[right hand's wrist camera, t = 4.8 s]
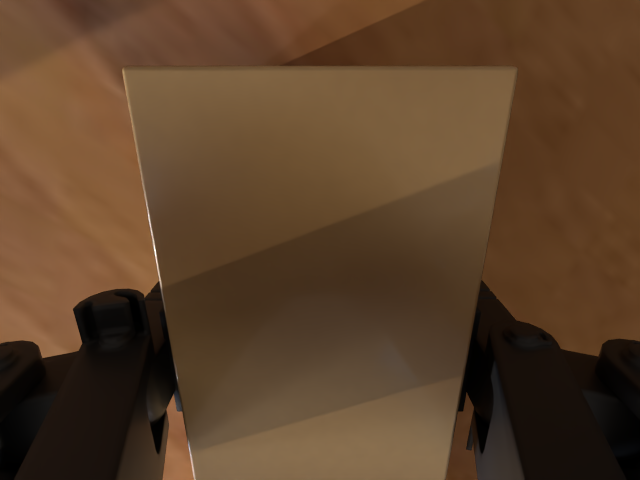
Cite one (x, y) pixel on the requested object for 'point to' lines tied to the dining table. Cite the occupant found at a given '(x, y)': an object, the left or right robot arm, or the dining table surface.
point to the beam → (320, 257)
